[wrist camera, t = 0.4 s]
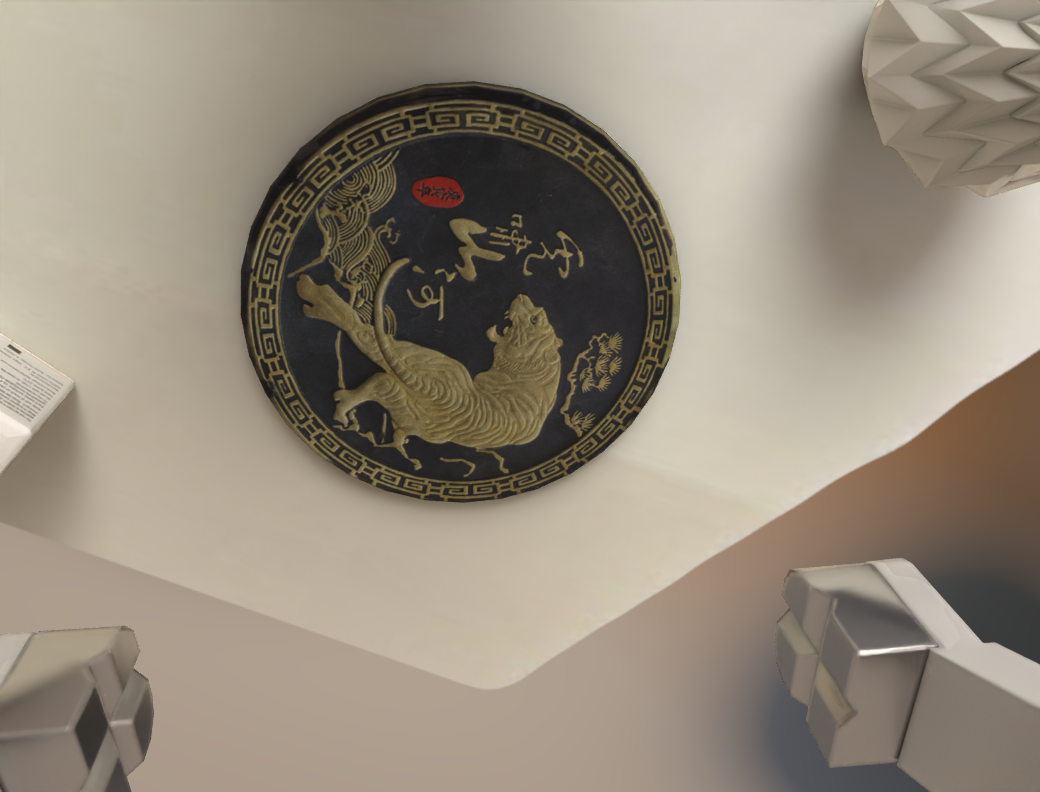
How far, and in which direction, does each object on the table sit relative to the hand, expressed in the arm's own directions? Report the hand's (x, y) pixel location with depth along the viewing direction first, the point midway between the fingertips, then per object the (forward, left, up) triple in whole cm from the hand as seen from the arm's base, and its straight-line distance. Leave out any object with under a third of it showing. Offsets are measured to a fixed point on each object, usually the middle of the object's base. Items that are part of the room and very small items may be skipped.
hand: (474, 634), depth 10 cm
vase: (-5, +32, -46) cm, 56 cm away
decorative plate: (+12, +2, -46) cm, 47 cm away
